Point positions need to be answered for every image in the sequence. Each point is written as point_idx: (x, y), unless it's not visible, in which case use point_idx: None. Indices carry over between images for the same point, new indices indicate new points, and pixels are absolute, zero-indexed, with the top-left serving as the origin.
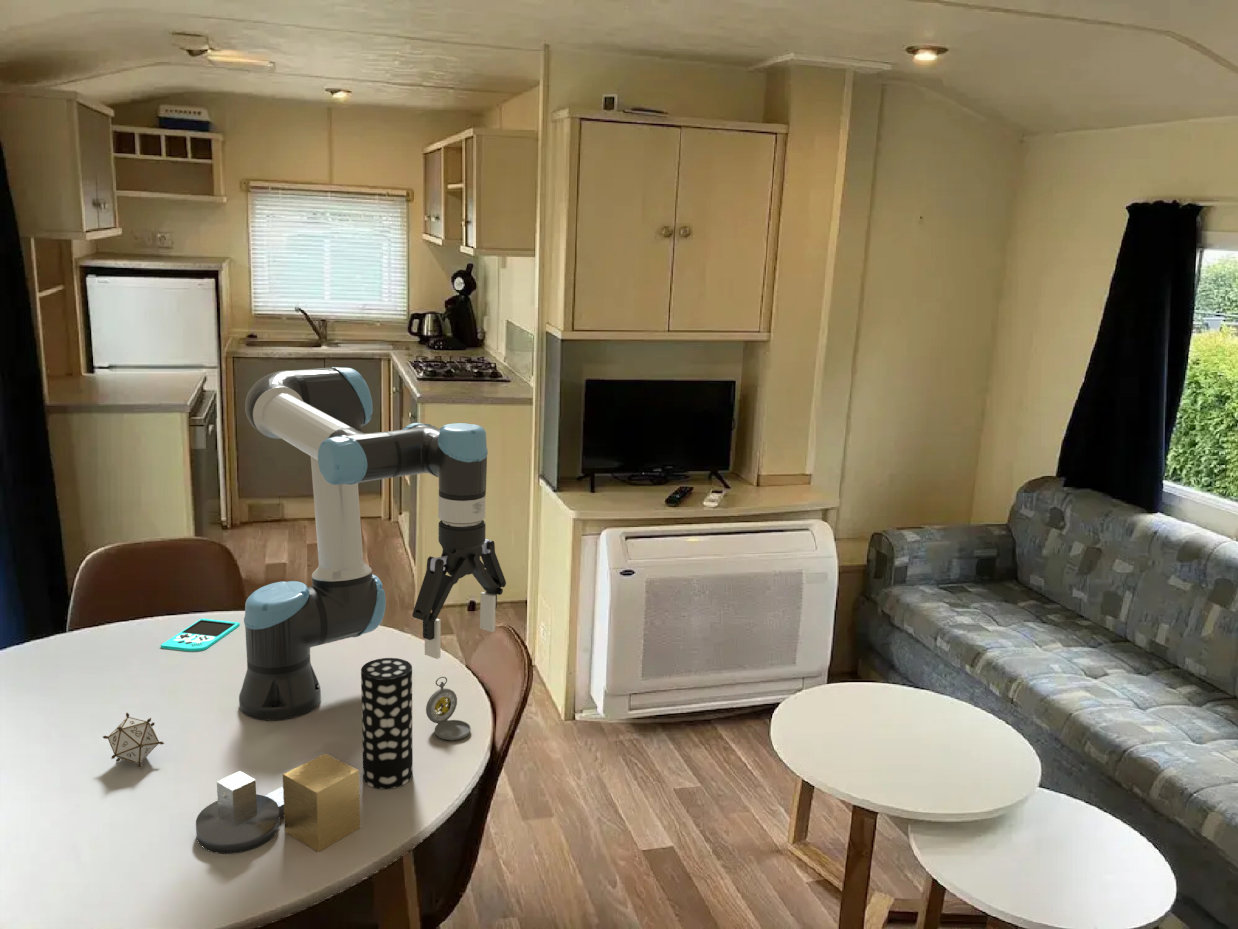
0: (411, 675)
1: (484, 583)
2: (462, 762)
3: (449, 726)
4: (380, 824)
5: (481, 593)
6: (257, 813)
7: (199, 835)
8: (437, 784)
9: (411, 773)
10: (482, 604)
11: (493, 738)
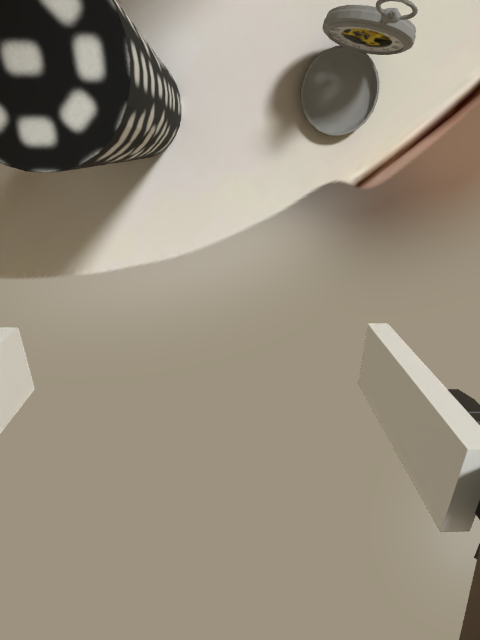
0: (101, 156)
1: (472, 611)
2: (258, 193)
3: (354, 68)
4: (30, 216)
5: (464, 454)
6: None
7: None
8: (176, 208)
9: (158, 152)
10: (420, 410)
11: (361, 182)
